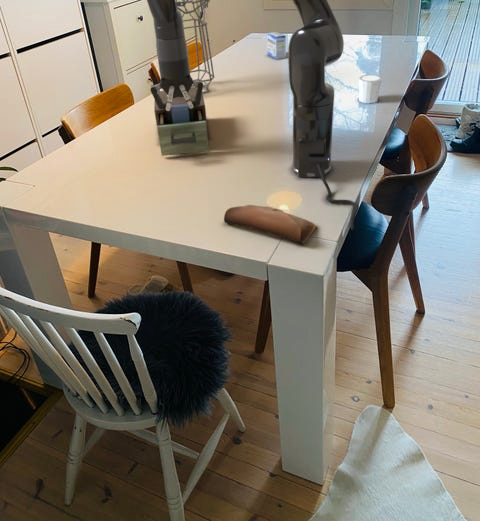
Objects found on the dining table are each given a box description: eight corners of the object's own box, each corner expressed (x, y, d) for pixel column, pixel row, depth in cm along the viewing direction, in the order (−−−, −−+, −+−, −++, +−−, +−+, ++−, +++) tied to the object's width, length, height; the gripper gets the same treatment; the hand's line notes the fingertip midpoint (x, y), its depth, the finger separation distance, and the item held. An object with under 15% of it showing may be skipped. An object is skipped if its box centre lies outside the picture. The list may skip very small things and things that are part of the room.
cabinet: (208, 139, 143) (205, 105, 137) (159, 144, 142) (154, 110, 136) (204, 118, 156) (201, 87, 150) (159, 123, 155) (154, 91, 149)
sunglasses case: (318, 223, 104) (312, 207, 98) (306, 253, 102) (299, 238, 96) (243, 204, 112) (233, 188, 106) (230, 232, 110) (220, 217, 104)
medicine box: (267, 55, 208) (266, 33, 203) (276, 53, 209) (276, 31, 204) (276, 59, 202) (275, 36, 197) (286, 57, 203) (285, 35, 198)
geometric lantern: (179, 101, 170) (164, -16, 149) (167, 88, 181) (151, -22, 160) (223, 92, 174) (214, -23, 153) (208, 80, 186) (197, -28, 165)
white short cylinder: (354, 102, 159) (356, 80, 155) (360, 95, 164) (362, 73, 160) (376, 105, 156) (378, 82, 152) (381, 97, 161) (384, 75, 157)
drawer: (210, 157, 131) (207, 128, 126) (161, 163, 130) (157, 134, 125) (204, 129, 146) (201, 102, 141) (161, 134, 145) (157, 107, 141)
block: (190, 125, 133) (188, 109, 131) (173, 127, 133) (171, 111, 130) (189, 119, 137) (187, 103, 134) (173, 121, 137) (171, 105, 134)
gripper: (143, 62, 121) (154, 130, 131) (202, 57, 122) (209, 124, 132) (144, 54, 127) (154, 119, 137) (200, 49, 128) (207, 114, 138)
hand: (181, 121), depth 135 cm, fingers closed on block, 4 cm apart
